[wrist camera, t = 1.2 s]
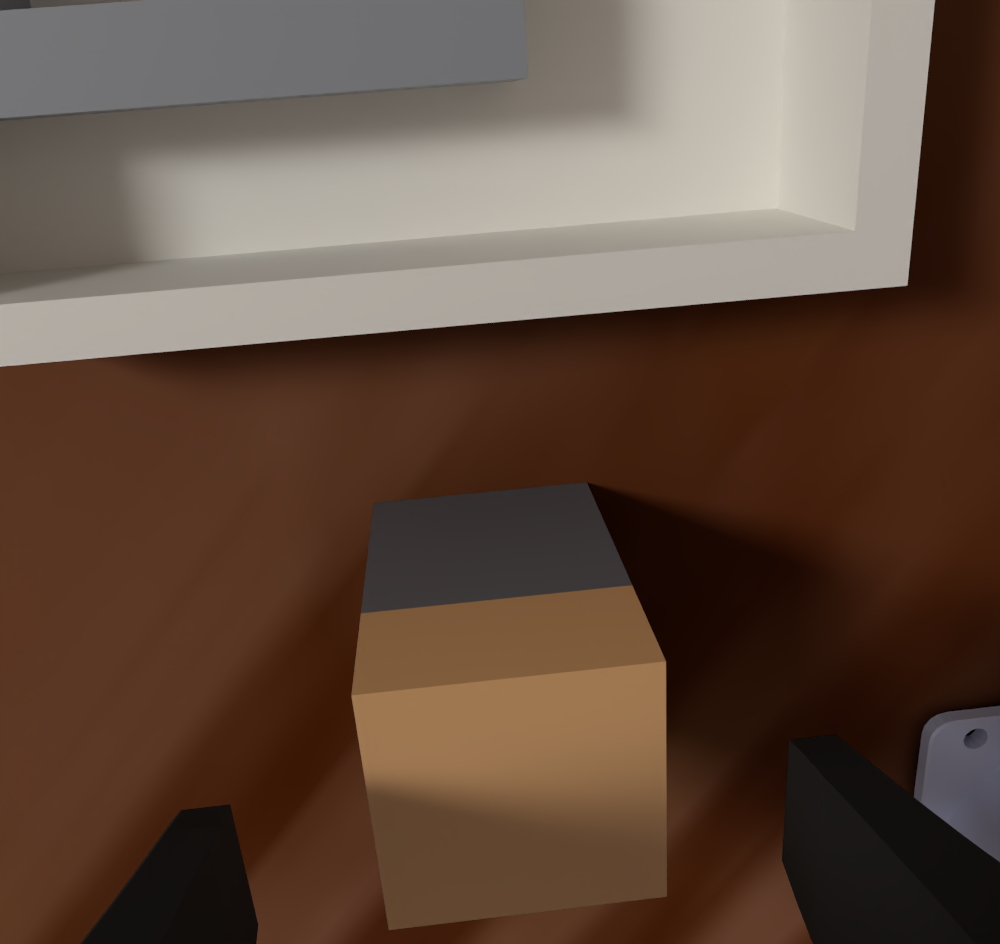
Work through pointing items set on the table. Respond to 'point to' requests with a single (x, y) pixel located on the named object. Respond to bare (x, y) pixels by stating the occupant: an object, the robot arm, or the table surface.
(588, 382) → the table surface
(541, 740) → the block
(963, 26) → the table surface
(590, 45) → the walled box
